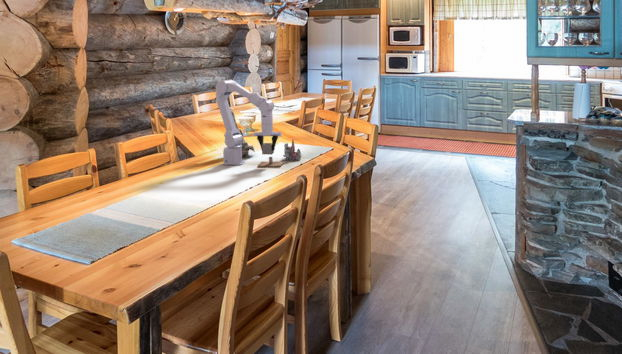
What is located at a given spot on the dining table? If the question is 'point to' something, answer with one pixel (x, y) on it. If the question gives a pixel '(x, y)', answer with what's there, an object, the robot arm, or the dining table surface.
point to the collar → (267, 148)
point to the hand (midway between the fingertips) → (268, 150)
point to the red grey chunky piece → (291, 152)
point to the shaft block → (270, 163)
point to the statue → (244, 145)
